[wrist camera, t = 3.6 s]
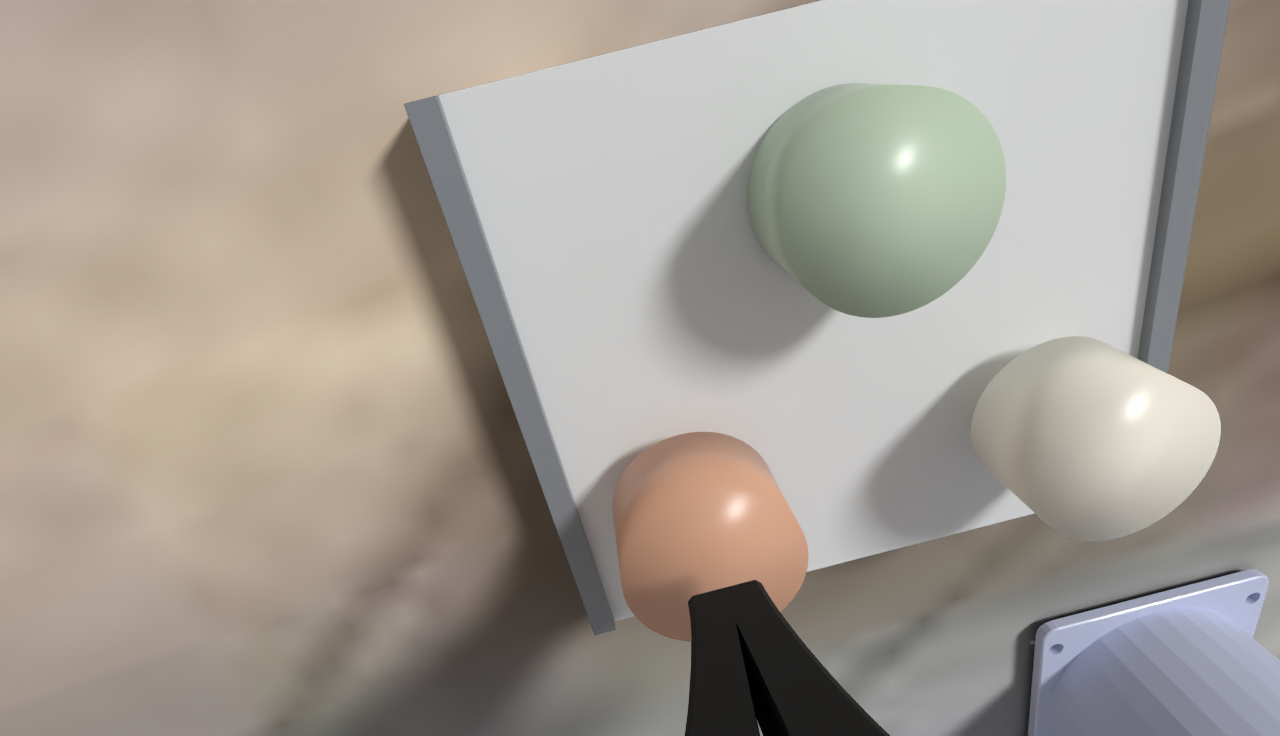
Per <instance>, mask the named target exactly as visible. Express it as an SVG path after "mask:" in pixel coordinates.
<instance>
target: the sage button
mask: <svg viewBox="0 0 1280 736" xmlns="http://www.w3.org/2000/svg"><path fill="white" fill-rule="evenodd" d="M1005 190H1006V166H1005V160H1004V154H1003V151H1002V147H1001V144H1000V141H999V139H998V136H997V134H996V132H995V130H994V128H993V127H992V125H991V124H990V122H989V121H988V119H987V118H986V117H985V115H984V114H983V113H982V112H981V111H980V110H979V109H978V108H977V107H976V106H975V105H973V104H972V103H971V102H969V101H968V100H966V99H965V98H963V97H961V96H959V95H957V94H955V93H953V92H951V91H948V90H945V89H941V88H938V87H931V86H923V85H896V84H868V83H848V84H841V85H835V86H831V87H828V88H825V89H822V90H819V91H817V92H815V93H813V94H811V95H809V96H807V97H805V98H804V99H802V100H801V101H799V102H797V103H796V104H795V105H794V106H792V107H791V108H790V109H789V110H788V111H786V112H785V113H784V114H783V115H782V116H781V117H780V118H779V120H778V121H777V122H776V123H775V124H774V125H773V127H772V128H771V129H770V131H769V132H768V133H767V135H766V137H765V138H764V140H763V142H762V143H761V145H760V147H759V149H758V152H757V154H756V156H755V159H754V162H753V165H752V168H751V172H750V177H749V183H748V196H747V200H748V212H749V216H750V221H751V225H752V228H753V230H754V233H755V235H756V237H757V239H758V241H759V243H760V245H761V246H762V248H763V249H764V250H765V252H766V253H767V254H768V255H769V256H770V257H771V258H772V259H773V260H774V261H775V262H776V263H777V264H778V265H779V266H780V267H781V268H783V269H784V270H785V271H786V272H787V273H788V274H789V275H791V276H792V277H793V278H794V279H795V280H796V281H797V282H799V283H800V284H801V285H802V286H803V287H804V288H805V289H807V290H808V291H809V292H810V293H811V294H812V295H813V296H815V297H816V298H817V299H819V300H820V301H821V302H823V303H824V304H825V305H827V306H829V307H831V308H833V309H835V310H836V311H839V312H842V313H845V314H848V315H852V316H857V317H865V318H882V317H891V316H896V315H901V314H904V313H907V312H910V311H913V310H916V309H918V308H920V307H922V306H925V305H927V304H929V303H930V302H932V301H934V300H936V299H937V298H939V297H940V296H942V295H943V294H945V293H946V292H947V291H949V290H950V289H951V288H953V287H954V286H955V285H956V284H957V283H958V282H959V281H960V280H961V279H963V277H964V276H965V275H966V274H967V273H968V272H969V271H970V270H971V269H972V268H973V266H974V265H975V264H976V262H977V261H978V260H979V258H980V257H981V256H982V254H983V252H984V251H985V249H986V247H987V246H988V244H989V242H990V240H991V238H992V236H993V234H994V232H995V230H996V228H997V225H998V222H999V219H1000V216H1001V213H1002V208H1003V204H1004V199H1005Z"/></svg>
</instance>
